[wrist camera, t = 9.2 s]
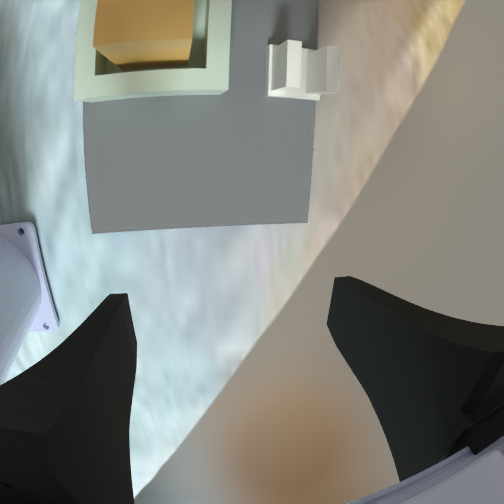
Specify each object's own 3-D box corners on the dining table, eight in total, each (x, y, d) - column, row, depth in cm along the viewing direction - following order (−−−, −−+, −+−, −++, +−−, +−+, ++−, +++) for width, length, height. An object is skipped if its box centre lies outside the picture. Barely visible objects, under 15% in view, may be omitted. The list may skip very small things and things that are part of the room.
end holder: (91, 102, 14) (73, 100, 12) (99, -11, 12) (86, -32, 9) (219, 94, 16) (228, 89, 13) (224, -17, 13) (234, -40, 10)
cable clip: (265, 96, 16) (282, 92, 13) (266, 46, 15) (284, 33, 12) (315, 100, 17) (341, 99, 14) (317, 52, 16) (342, 43, 13)
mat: (94, 230, 18) (92, 233, 17) (102, -50, 11) (100, -54, 10) (303, 219, 20) (307, 222, 20) (313, -44, 13) (316, -47, 13)
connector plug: (121, 69, 13) (92, 46, 8) (126, 11, 12) (103, -35, 7) (187, 65, 14) (192, 38, 9) (191, 8, 13) (198, -42, 7)
